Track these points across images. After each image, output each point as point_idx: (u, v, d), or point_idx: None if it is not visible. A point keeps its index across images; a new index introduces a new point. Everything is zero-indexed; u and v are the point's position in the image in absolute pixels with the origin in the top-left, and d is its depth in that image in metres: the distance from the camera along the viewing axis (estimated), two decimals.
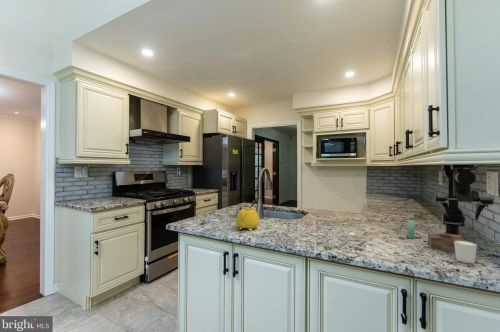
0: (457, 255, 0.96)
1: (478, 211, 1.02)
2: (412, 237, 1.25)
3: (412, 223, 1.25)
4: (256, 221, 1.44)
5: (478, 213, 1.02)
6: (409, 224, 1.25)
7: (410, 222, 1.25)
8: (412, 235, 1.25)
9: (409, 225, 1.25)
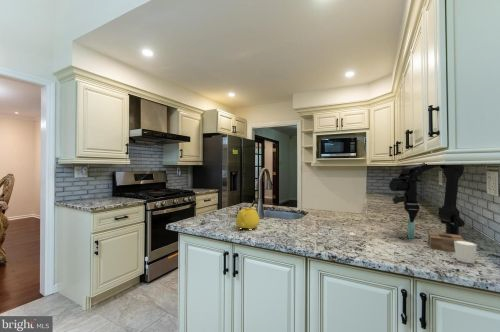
0: (457, 255, 0.96)
1: None
2: (412, 237, 1.25)
3: (412, 223, 1.25)
4: (256, 221, 1.44)
5: (409, 216, 1.22)
6: (409, 224, 1.25)
7: (410, 222, 1.25)
8: (412, 235, 1.25)
9: (409, 225, 1.25)
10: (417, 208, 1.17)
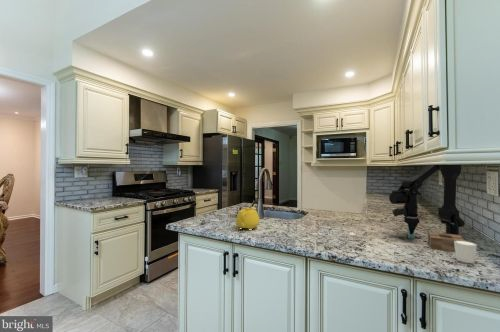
0: (457, 255, 0.96)
1: (408, 226, 1.25)
2: (412, 237, 1.25)
3: None
4: (256, 221, 1.44)
5: None
6: None
7: None
8: (412, 235, 1.25)
9: None
10: (417, 222, 1.17)
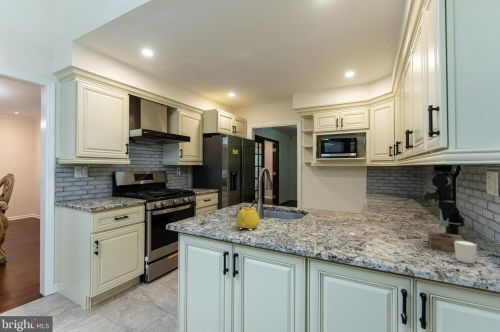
0: (457, 255, 0.96)
1: None
2: (446, 224, 1.11)
3: None
4: (256, 221, 1.44)
5: (442, 214, 1.11)
6: None
7: None
8: (446, 222, 1.11)
9: None
10: (454, 206, 1.03)
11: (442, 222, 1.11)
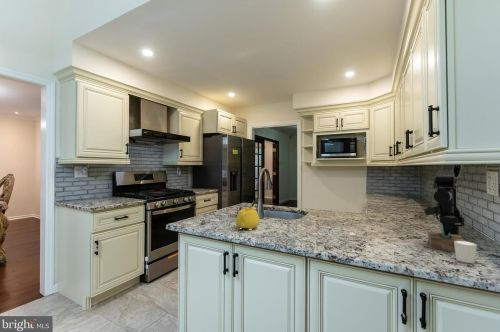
0: (457, 255, 0.96)
1: None
2: None
3: None
4: (256, 221, 1.44)
5: (443, 228, 1.10)
6: None
7: None
8: (447, 236, 1.10)
9: None
10: (455, 221, 1.03)
11: (443, 236, 1.11)
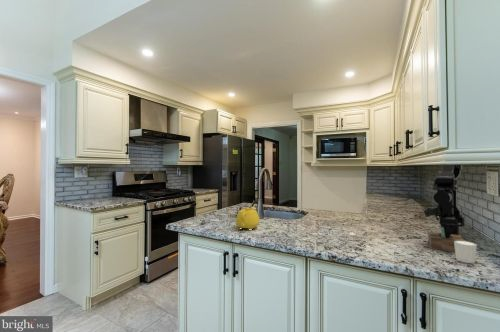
0: (457, 255, 0.96)
1: None
2: None
3: None
4: (256, 221, 1.44)
5: (444, 231, 1.08)
6: (443, 231, 1.11)
7: None
8: None
9: (443, 232, 1.11)
10: (455, 223, 1.03)
11: None
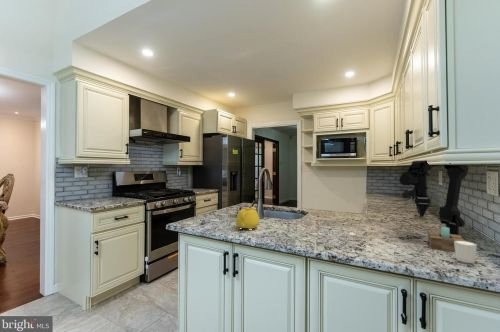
0: (457, 255, 0.96)
1: (418, 208, 1.20)
2: None
3: (447, 230, 1.10)
4: (256, 221, 1.44)
5: (419, 210, 1.20)
6: (443, 231, 1.11)
7: (445, 229, 1.11)
8: None
9: (443, 232, 1.11)
10: (428, 202, 1.15)
11: None
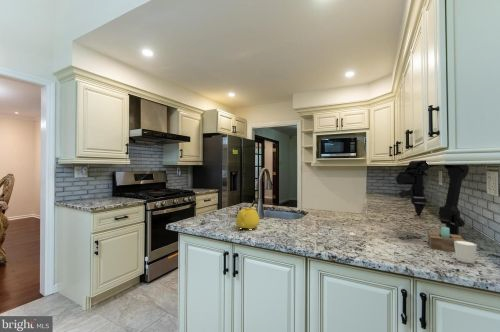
0: (457, 255, 0.96)
1: (415, 208, 1.22)
2: None
3: (447, 230, 1.10)
4: (256, 221, 1.44)
5: (415, 209, 1.22)
6: (443, 231, 1.11)
7: (445, 229, 1.11)
8: None
9: (443, 232, 1.11)
10: (424, 201, 1.16)
11: None
